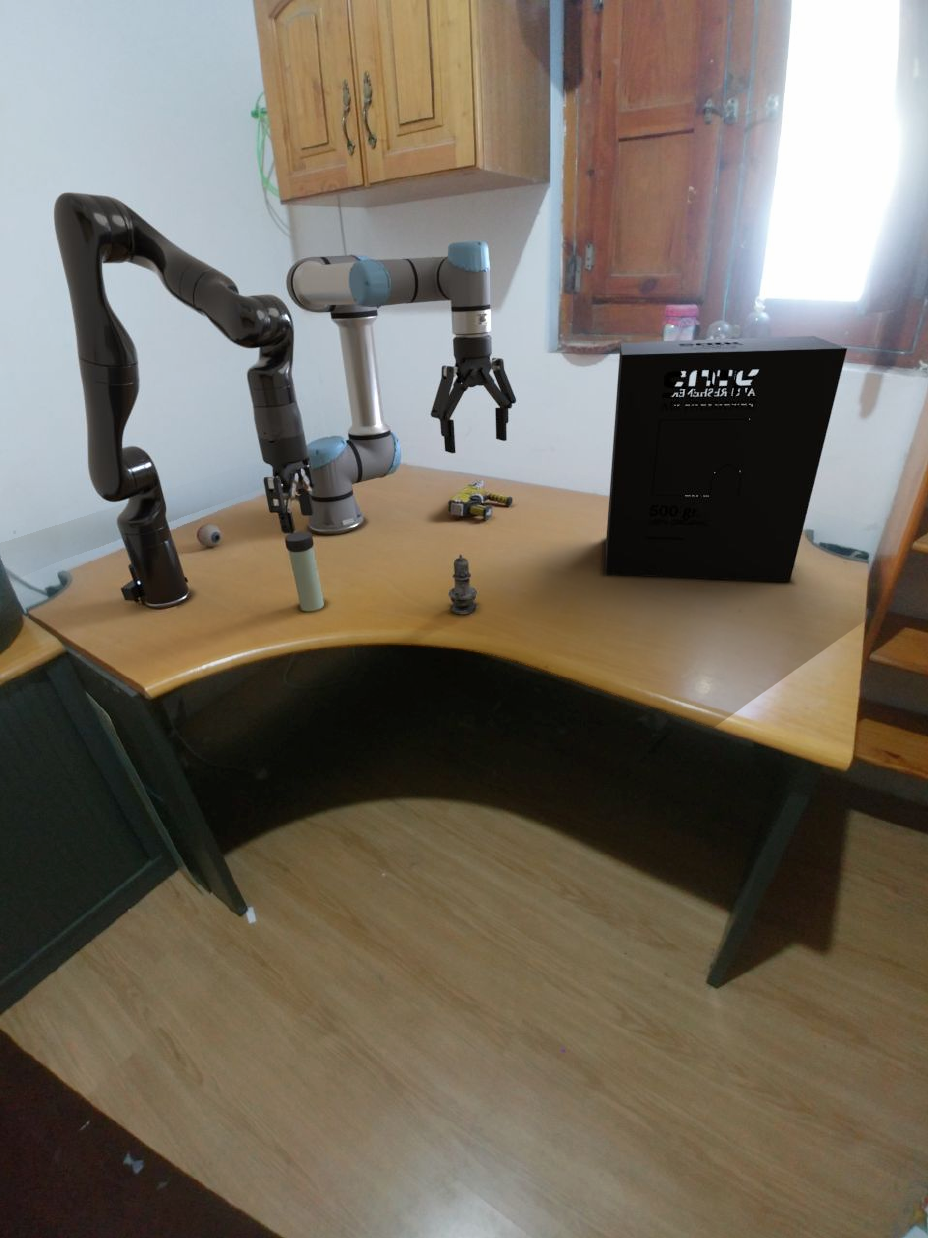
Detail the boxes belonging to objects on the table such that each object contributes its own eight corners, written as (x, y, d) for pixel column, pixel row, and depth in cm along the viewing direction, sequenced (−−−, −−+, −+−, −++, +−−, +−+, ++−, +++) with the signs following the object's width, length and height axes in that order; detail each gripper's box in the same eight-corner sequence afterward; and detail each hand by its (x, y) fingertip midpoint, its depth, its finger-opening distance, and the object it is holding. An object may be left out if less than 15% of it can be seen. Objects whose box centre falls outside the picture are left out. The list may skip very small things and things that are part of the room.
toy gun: (520, 484, 182) (474, 477, 186) (498, 508, 162) (446, 499, 166) (519, 500, 184) (473, 492, 188) (497, 524, 164) (445, 516, 168)
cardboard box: (768, 543, 143) (813, 335, 121) (789, 582, 126) (847, 348, 104) (606, 538, 151) (620, 342, 128) (605, 574, 134) (622, 354, 111)
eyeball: (210, 552, 157) (204, 530, 154) (195, 548, 160) (189, 526, 157) (229, 544, 161) (224, 522, 158) (214, 540, 164) (208, 519, 161)
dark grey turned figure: (475, 615, 121) (472, 561, 115) (446, 614, 122) (442, 560, 116) (480, 601, 126) (478, 548, 120) (452, 600, 127) (449, 547, 121)
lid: (306, 539, 125) (304, 528, 124) (318, 546, 121) (316, 535, 120) (282, 546, 122) (280, 536, 121) (293, 554, 118) (291, 543, 117)
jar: (317, 598, 131) (304, 531, 124) (328, 606, 128) (315, 538, 120) (296, 605, 129) (282, 538, 121) (307, 614, 125) (292, 544, 118)
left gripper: (277, 422, 107) (295, 509, 115) (238, 442, 95) (261, 538, 103) (317, 421, 105) (332, 510, 113) (283, 442, 93) (302, 539, 101)
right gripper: (429, 342, 108) (437, 460, 118) (533, 329, 120) (532, 437, 131) (407, 340, 113) (417, 454, 124) (508, 328, 125) (510, 432, 136)
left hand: (298, 523), depth 108 cm, fingers open, 8 cm apart
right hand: (476, 445), depth 127 cm, fingers open, 13 cm apart
